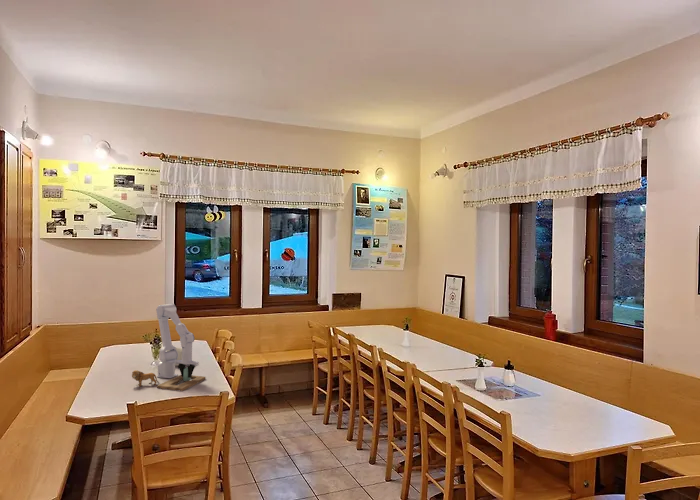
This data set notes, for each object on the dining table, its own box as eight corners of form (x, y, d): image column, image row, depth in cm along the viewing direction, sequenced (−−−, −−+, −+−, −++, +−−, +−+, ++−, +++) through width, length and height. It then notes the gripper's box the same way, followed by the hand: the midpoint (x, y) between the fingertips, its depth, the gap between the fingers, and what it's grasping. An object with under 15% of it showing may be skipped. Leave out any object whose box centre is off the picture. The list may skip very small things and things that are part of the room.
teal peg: (181, 380, 288) (182, 368, 288) (185, 379, 291) (185, 367, 292) (187, 381, 287) (188, 369, 287) (191, 379, 291) (191, 367, 291)
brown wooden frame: (157, 388, 275) (157, 385, 275) (181, 376, 298) (182, 374, 298) (182, 391, 271) (182, 388, 271) (205, 379, 294) (205, 376, 294)
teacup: (189, 366, 323) (189, 351, 322) (165, 367, 318) (165, 352, 318) (189, 361, 334) (189, 347, 334) (166, 362, 330) (166, 348, 329)
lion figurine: (132, 387, 275) (132, 371, 274) (131, 385, 279) (131, 369, 279) (159, 384, 282) (160, 369, 282) (158, 382, 286) (158, 366, 286)
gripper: (201, 353, 291) (201, 376, 291) (180, 351, 294) (179, 373, 295) (195, 356, 284) (194, 379, 284) (173, 354, 287) (172, 377, 288)
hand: (186, 376), depth 289 cm, fingers closed on teal peg, 4 cm apart
